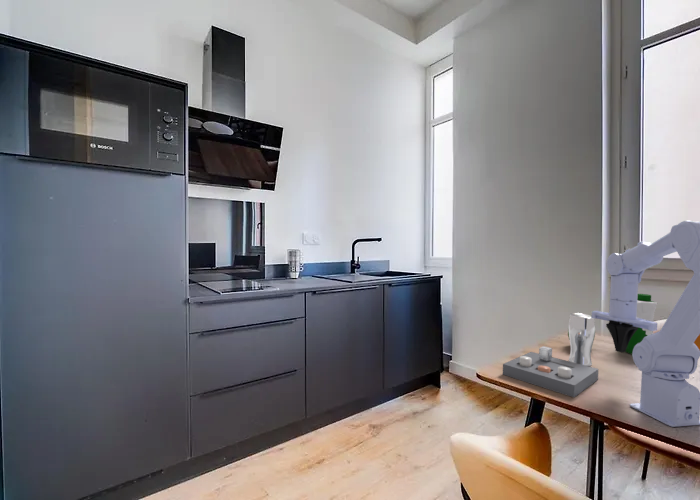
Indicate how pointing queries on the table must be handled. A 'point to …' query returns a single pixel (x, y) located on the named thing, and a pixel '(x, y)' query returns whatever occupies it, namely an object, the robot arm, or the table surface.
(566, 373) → the near button
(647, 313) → the milk carton
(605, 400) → the table surface
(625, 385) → the table surface
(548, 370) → the middle button
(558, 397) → the table surface
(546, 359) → the slider knob
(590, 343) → the beer glass
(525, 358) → the far button
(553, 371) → the control panel
